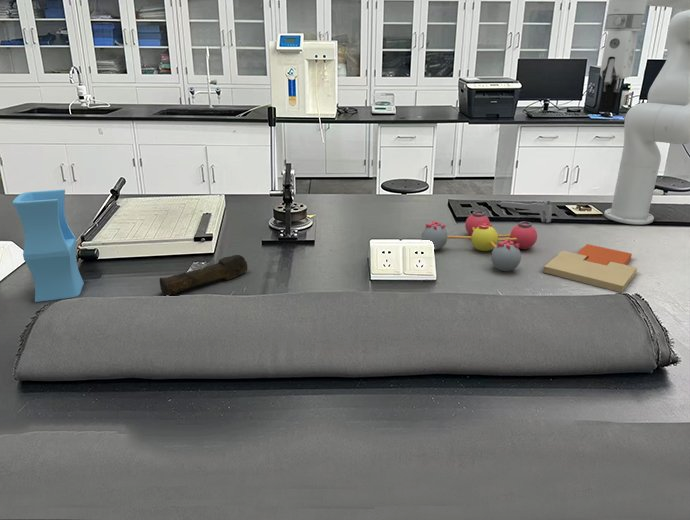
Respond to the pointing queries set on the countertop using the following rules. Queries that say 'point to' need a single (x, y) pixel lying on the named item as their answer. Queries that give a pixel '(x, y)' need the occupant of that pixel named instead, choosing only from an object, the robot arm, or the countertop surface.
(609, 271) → the notch pad
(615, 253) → the tab pad
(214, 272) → the hand tool
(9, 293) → the countertop surface
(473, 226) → the molecule model
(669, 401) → the countertop surface
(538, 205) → the caliper
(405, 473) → the countertop surface
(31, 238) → the vase
